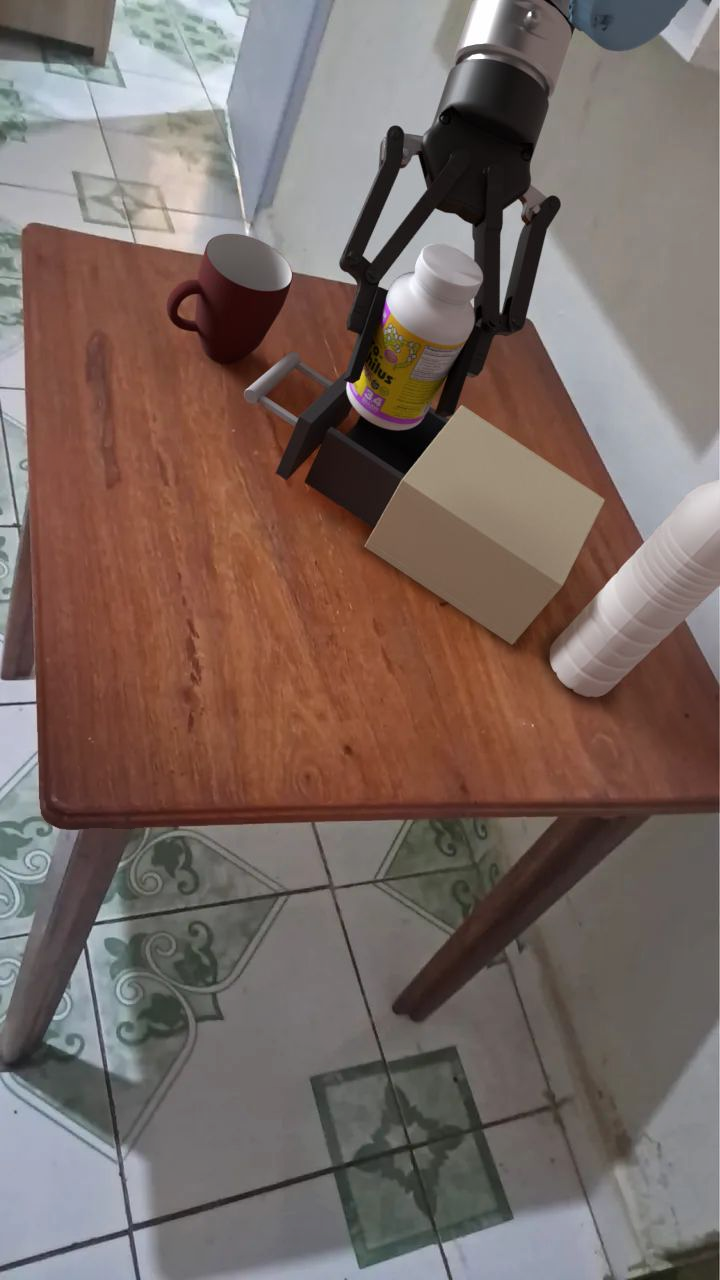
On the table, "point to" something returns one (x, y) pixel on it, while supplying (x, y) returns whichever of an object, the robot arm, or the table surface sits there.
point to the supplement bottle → (417, 338)
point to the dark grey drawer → (345, 444)
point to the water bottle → (644, 597)
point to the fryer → (486, 525)
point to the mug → (234, 296)
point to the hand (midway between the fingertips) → (398, 397)
